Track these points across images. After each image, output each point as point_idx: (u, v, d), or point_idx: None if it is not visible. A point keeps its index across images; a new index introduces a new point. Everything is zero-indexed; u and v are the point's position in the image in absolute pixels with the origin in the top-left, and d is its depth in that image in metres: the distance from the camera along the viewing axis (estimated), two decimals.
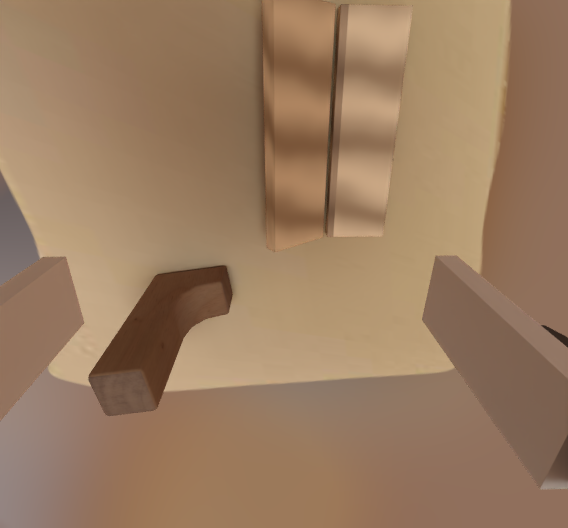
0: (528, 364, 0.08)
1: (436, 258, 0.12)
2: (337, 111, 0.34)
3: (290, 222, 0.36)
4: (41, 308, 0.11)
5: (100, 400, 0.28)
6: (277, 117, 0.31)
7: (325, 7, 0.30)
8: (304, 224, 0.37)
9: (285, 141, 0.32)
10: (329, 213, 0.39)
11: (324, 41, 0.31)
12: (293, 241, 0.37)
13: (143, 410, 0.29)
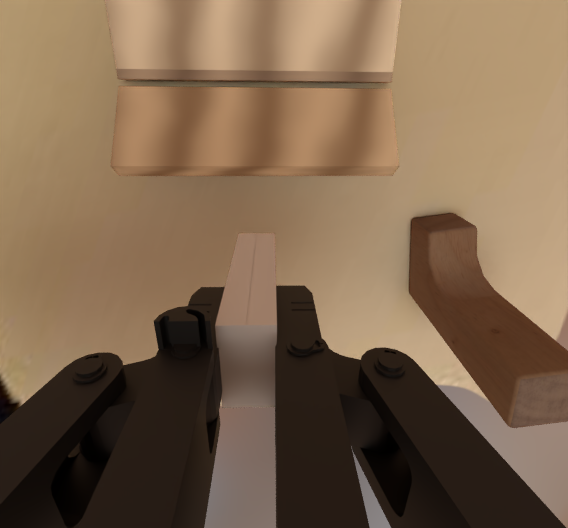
0: None
1: (256, 234, 0.14)
2: (228, 76, 0.28)
3: (361, 143, 0.27)
4: None
5: (548, 422, 0.23)
6: (233, 162, 0.26)
7: (123, 100, 0.27)
8: (368, 120, 0.28)
9: (260, 151, 0.27)
10: (358, 80, 0.28)
11: (155, 99, 0.27)
12: (389, 137, 0.27)
13: None
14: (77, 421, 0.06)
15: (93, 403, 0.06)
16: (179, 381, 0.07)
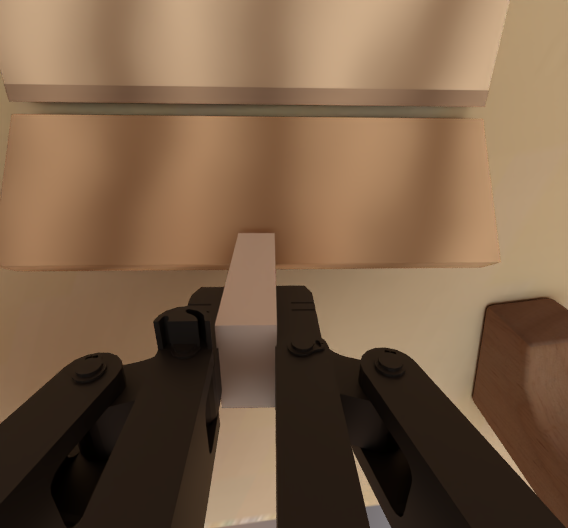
0: None
1: (256, 234, 0.14)
2: (203, 96, 0.16)
3: (435, 218, 0.16)
4: None
5: None
6: (211, 256, 0.15)
7: (18, 140, 0.16)
8: (445, 177, 0.16)
9: None
10: (427, 103, 0.16)
11: (76, 138, 0.16)
12: (481, 208, 0.16)
13: None
14: (77, 421, 0.06)
15: (93, 403, 0.06)
16: (179, 381, 0.07)
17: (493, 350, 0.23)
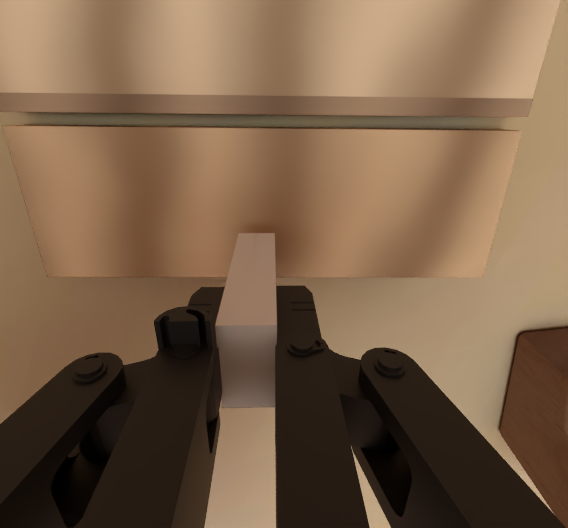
0: None
1: (256, 234, 0.14)
2: (210, 106, 0.14)
3: (436, 240, 0.17)
4: None
5: None
6: None
7: (22, 158, 0.15)
8: (458, 199, 0.16)
9: None
10: (462, 113, 0.14)
11: (80, 155, 0.15)
12: (483, 231, 0.17)
13: None
14: (77, 421, 0.06)
15: (93, 403, 0.06)
16: (179, 381, 0.07)
17: (526, 383, 0.21)
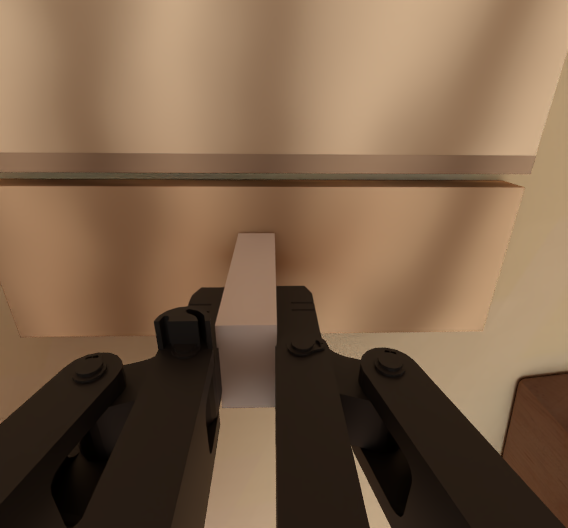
0: None
1: (256, 234, 0.14)
2: (192, 165, 0.13)
3: (434, 295, 0.16)
4: None
5: None
6: None
7: None
8: (457, 255, 0.15)
9: None
10: (462, 171, 0.14)
11: (52, 215, 0.14)
12: (483, 286, 0.16)
13: None
14: (77, 421, 0.06)
15: (93, 403, 0.06)
16: (179, 381, 0.07)
17: (527, 431, 0.20)
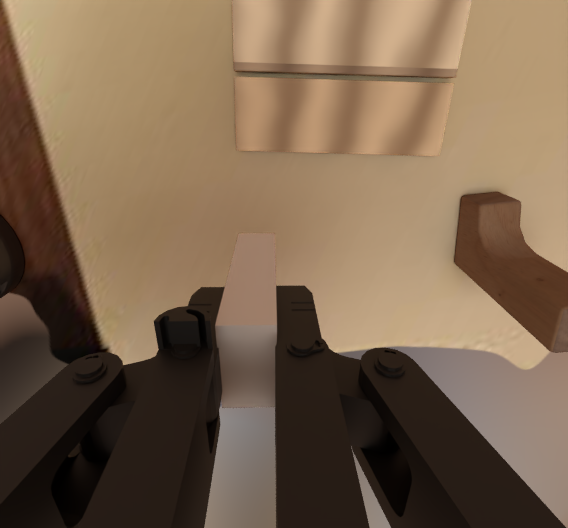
0: None
1: (256, 234, 0.14)
2: (322, 69, 0.34)
3: (417, 135, 0.37)
4: None
5: None
6: (321, 149, 0.37)
7: (239, 91, 0.35)
8: (427, 115, 0.36)
9: (341, 140, 0.37)
10: (428, 75, 0.34)
11: (264, 90, 0.35)
12: (438, 131, 0.36)
13: None
14: (77, 421, 0.06)
15: (93, 403, 0.06)
16: (179, 381, 0.07)
17: (464, 220, 0.41)
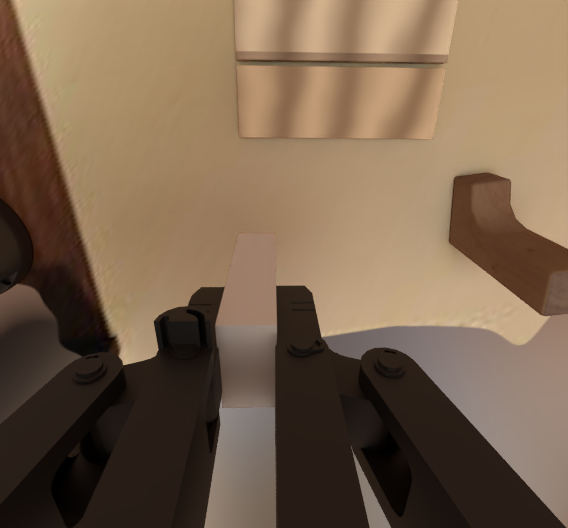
0: None
1: (256, 234, 0.14)
2: (320, 57, 0.36)
3: (411, 119, 0.39)
4: None
5: None
6: (321, 134, 0.39)
7: (241, 79, 0.36)
8: (420, 99, 0.38)
9: (339, 125, 0.39)
10: (420, 60, 0.36)
11: (265, 78, 0.36)
12: (432, 115, 0.38)
13: None
14: (77, 421, 0.06)
15: (93, 403, 0.06)
16: (179, 381, 0.07)
17: (458, 200, 0.43)
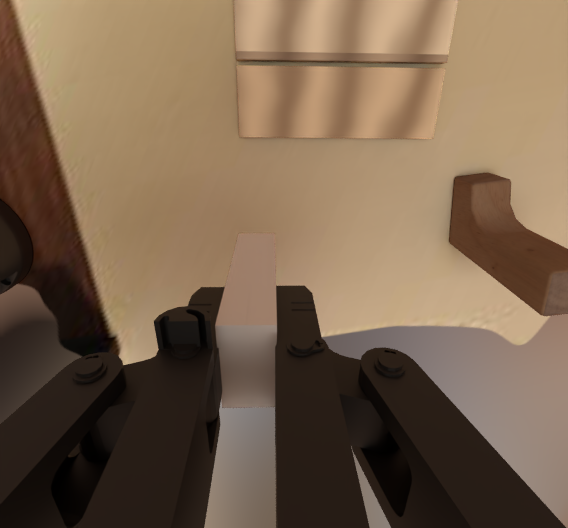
0: None
1: (256, 234, 0.14)
2: (320, 57, 0.36)
3: (411, 119, 0.39)
4: None
5: None
6: (321, 134, 0.39)
7: (241, 79, 0.36)
8: (420, 99, 0.38)
9: (339, 125, 0.39)
10: (420, 60, 0.36)
11: (265, 78, 0.36)
12: (432, 114, 0.38)
13: None
14: (77, 421, 0.06)
15: (93, 403, 0.06)
16: (179, 381, 0.07)
17: (458, 200, 0.43)
